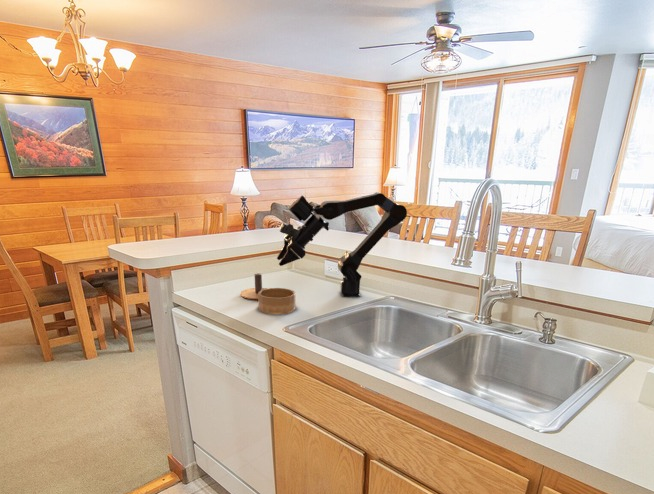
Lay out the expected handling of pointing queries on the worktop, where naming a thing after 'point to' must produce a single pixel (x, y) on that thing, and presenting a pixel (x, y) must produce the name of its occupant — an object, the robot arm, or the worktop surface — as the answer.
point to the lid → (253, 292)
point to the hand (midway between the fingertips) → (278, 262)
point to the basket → (276, 300)
